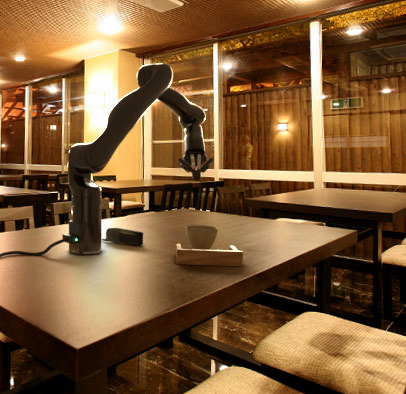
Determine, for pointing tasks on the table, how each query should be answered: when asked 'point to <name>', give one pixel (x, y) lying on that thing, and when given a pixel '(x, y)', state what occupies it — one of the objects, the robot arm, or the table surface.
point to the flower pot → (201, 236)
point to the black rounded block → (124, 236)
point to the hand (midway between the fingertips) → (196, 179)
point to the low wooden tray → (209, 256)
